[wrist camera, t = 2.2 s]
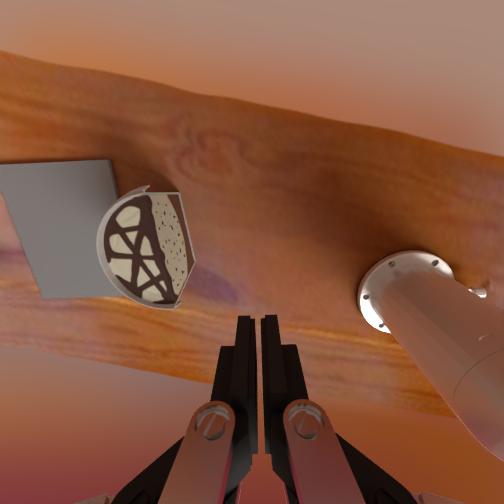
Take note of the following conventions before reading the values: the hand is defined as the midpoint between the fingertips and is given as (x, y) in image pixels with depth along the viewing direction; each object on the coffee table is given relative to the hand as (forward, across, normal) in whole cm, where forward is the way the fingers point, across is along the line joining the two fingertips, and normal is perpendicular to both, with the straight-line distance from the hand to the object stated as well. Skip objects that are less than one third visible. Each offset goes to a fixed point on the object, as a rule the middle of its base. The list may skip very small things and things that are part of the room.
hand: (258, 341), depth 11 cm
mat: (+21, +24, 0) cm, 32 cm away
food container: (+21, +12, 0) cm, 24 cm away
